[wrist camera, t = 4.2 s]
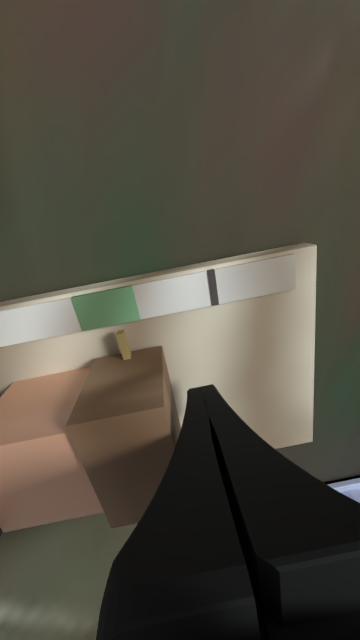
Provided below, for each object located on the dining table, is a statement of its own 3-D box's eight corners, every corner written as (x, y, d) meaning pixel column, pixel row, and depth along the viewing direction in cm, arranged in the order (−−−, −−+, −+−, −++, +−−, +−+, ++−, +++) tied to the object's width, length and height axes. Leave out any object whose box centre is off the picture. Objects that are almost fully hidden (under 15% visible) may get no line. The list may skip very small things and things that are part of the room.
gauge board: (303, 242, 12) (320, 245, 10) (303, 428, 16) (314, 444, 15) (-72, 316, 11) (-97, 327, 10) (27, 483, 16) (16, 504, 14)
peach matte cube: (100, 364, 12) (73, 431, 8) (122, 429, 13) (109, 511, 10) (14, 381, 12) (-51, 456, 8) (46, 445, 13) (3, 532, 10)
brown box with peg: (156, 320, 11) (155, 373, 7) (181, 430, 13) (190, 512, 10) (87, 334, 11) (50, 393, 7) (124, 441, 13) (111, 528, 10)
